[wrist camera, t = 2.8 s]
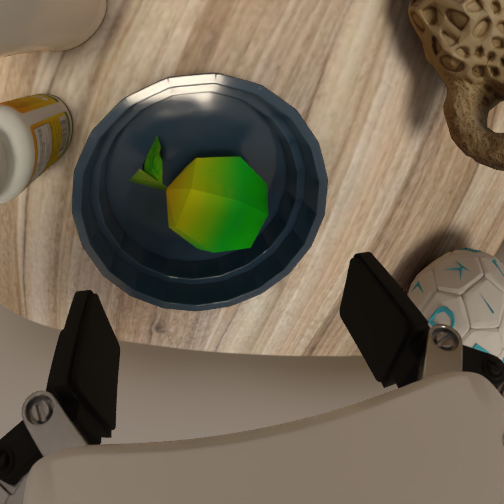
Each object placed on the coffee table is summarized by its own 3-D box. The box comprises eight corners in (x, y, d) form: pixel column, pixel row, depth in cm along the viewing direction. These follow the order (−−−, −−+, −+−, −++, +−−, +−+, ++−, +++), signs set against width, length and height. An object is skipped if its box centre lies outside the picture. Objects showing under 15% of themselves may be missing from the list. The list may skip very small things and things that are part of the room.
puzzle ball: (422, 326, 40) (476, 402, 28) (355, 317, 34) (419, 423, 22) (481, 243, 33) (553, 311, 21) (429, 205, 27) (536, 295, 15)
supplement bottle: (87, 133, 18) (29, 182, 10) (37, 179, 18) (-27, 249, 10) (48, 76, 14) (-33, 90, 7) (-1, 127, 15) (-82, 172, 7)
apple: (289, 254, 17) (118, 209, 13) (238, 277, 22) (112, 247, 18) (293, 149, 19) (157, 99, 15) (248, 190, 24) (138, 155, 21)
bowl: (118, 280, 24) (110, 322, 20) (77, 94, 16) (49, 102, 12) (293, 255, 27) (315, 292, 23) (301, 72, 18) (334, 74, 14)
